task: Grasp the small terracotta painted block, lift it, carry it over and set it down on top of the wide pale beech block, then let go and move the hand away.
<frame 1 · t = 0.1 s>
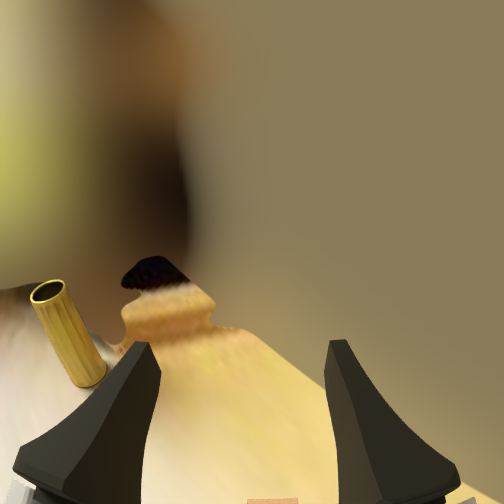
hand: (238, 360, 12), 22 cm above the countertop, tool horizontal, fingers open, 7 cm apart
vase: (89, 373, 37), on the countertop
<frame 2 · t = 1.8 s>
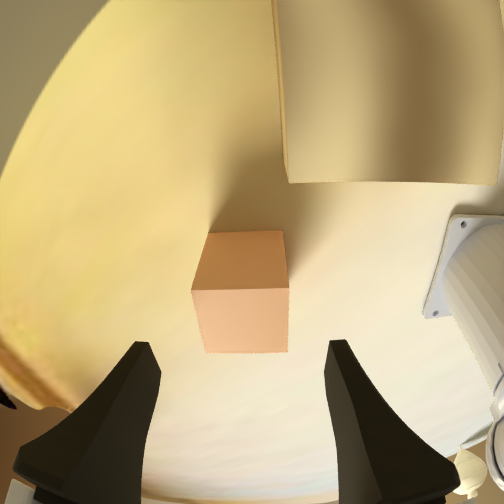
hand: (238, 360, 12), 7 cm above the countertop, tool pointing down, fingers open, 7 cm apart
beech block: (378, 61, 12), on the countertop
terracotta block: (247, 262, 18), on the countertop
spinning top: (459, 444, 38), on the countertop
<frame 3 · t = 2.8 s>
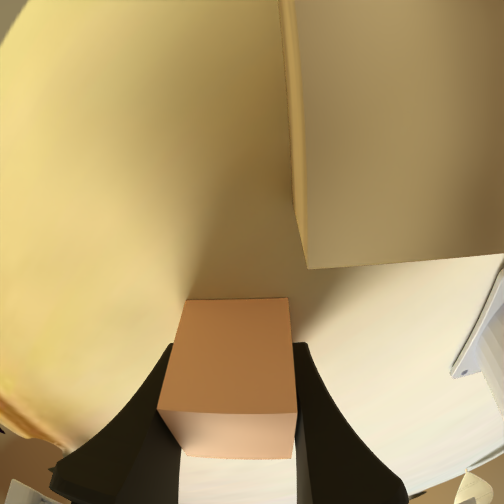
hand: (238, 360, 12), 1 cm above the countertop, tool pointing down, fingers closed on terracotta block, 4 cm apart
beech block: (432, 58, 7), on the countertop
terracotta block: (240, 334, 13), on the countertop, touching gripper
spinning top: (465, 467, 34), on the countertop
when the fingers open (6 cm above the countertop, at t = 6.2 s): terracotta block stays where it is, resting on beech block.
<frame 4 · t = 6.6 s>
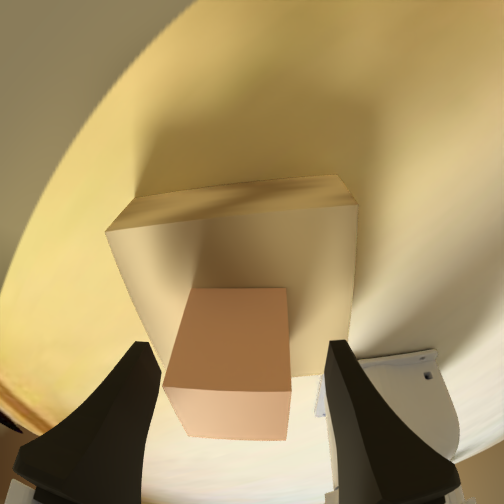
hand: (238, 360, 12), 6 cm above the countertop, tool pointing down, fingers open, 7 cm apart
beech block: (245, 267, 17), on the countertop, touching terracotta block
terracotta block: (241, 322, 14), point 4 cm above the countertop, touching beech block
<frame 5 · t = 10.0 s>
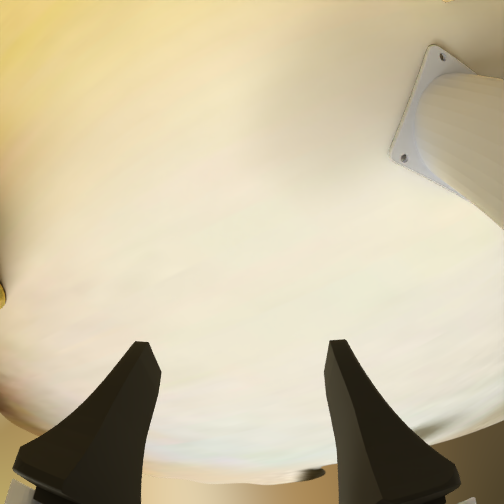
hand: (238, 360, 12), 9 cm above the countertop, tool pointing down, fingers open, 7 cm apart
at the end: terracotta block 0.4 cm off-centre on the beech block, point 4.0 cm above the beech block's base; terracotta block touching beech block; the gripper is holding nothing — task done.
